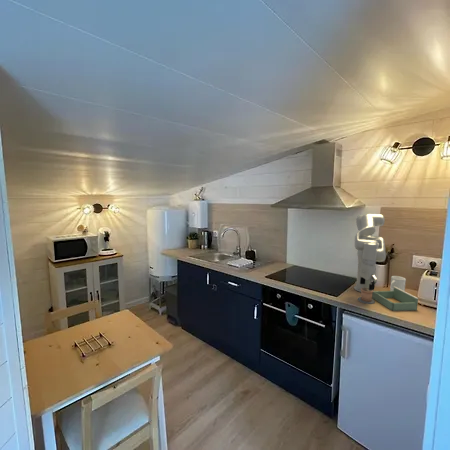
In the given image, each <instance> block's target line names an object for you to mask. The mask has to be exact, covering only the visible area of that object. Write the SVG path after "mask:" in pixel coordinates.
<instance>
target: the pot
mask: <svg viewBox="0 0 450 450" xmlns="http://www.w3.org/2000/svg"><path fill="white" fill-rule="evenodd" d="M372 293H373V290H369V288H361V292H360V297H361V300H362V301H365V302H372V299H373V298H372Z"/></svg>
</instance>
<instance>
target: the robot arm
mask: <svg viewBox="0 0 450 450" xmlns="http://www.w3.org/2000/svg"><path fill="white" fill-rule="evenodd" d="M355 220H356V222H355V223H356V228H357V230H358V231H357V232H356V233H355V236H354V248H355V250H357V274H356V281H355V282H354V284H356V285H354V286H353V289H354V290H355V291H357V292H359V293H361V288H369V290H373V291H375V285H376V283H377V282H378V278H377V277H376V274H377V273H376V272H377V271H376V265H377V262H380V263H381V262H385V260H386V255H387V254H386V244H385V243H386V242H385V239H384V237H382V236H377V235H374V234H375V233H376V227H383V226H384V225H385V221H386V220H385V216H384V215H383V214H381V213H380V214H379V213H364V214H360V215H357V217H356V218H355Z"/></svg>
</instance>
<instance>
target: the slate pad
mask: <svg viewBox="0 0 450 450" xmlns="http://www.w3.org/2000/svg"><path fill="white" fill-rule="evenodd" d="M357 301H358V302H359V303H362V304H367V305H374V304H376V300H375V299H373V298H372V302H365V301H362V300H361V296H359V297H357Z"/></svg>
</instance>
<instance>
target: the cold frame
mask: <svg viewBox="0 0 450 450" xmlns="http://www.w3.org/2000/svg"><path fill="white" fill-rule="evenodd" d="M372 299H373V300H374V301H375V302H378V303H380V305H383V306H385V307H386V308H388V309H389V310H391V311H397V312H398V311H418V306H419V305H418V303H419V297H417V296H415V295H413V294H411V293H410V292H407V291H406V290H405V291H403V290H401V289H399V288H397V287H394V291H390V290H381V291H380V290H374V291H373V293H372ZM389 299H395V300H397V301H398V302H393V301H392V300H389Z"/></svg>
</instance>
